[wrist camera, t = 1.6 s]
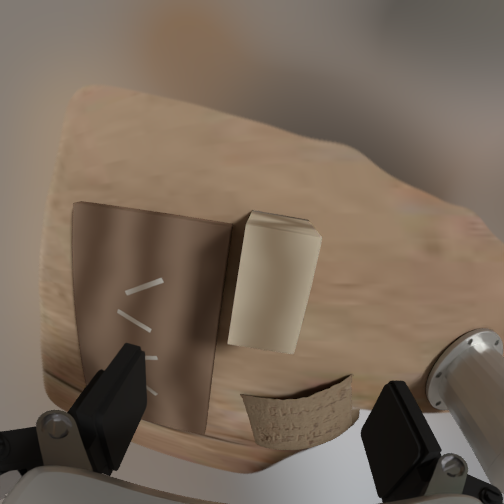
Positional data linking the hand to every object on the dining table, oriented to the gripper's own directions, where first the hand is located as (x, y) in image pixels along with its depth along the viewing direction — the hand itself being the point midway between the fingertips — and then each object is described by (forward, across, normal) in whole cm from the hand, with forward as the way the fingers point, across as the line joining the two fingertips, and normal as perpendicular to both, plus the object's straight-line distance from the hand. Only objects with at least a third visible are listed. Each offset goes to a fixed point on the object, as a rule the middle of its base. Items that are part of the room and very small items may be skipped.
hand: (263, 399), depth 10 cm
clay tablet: (+19, -8, +18) cm, 27 cm away
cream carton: (+18, -1, 0) cm, 18 cm away
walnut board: (+18, +11, +10) cm, 24 cm away
